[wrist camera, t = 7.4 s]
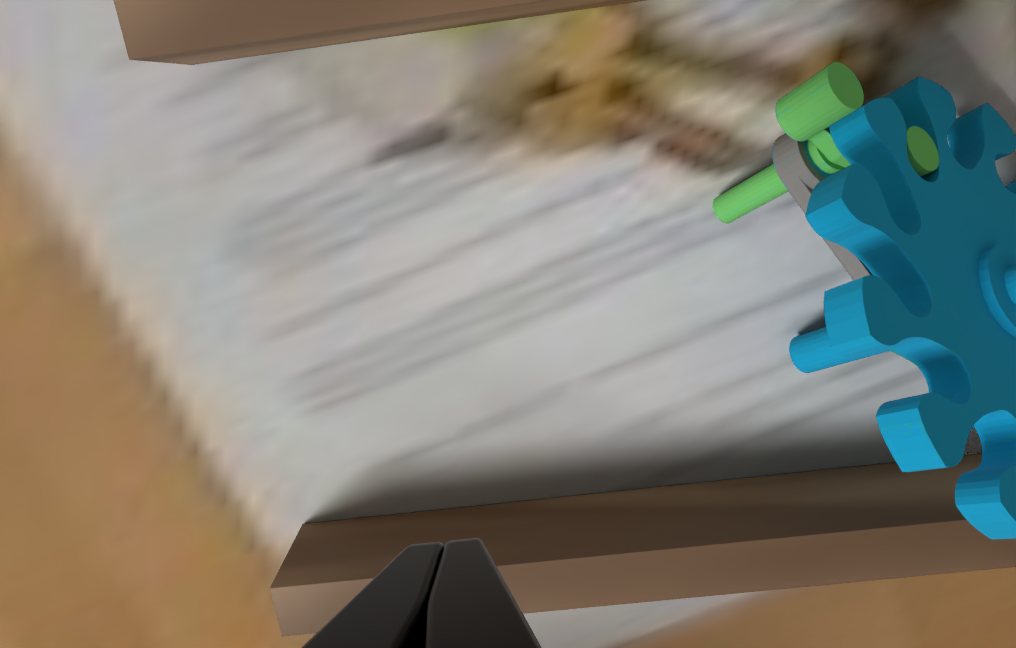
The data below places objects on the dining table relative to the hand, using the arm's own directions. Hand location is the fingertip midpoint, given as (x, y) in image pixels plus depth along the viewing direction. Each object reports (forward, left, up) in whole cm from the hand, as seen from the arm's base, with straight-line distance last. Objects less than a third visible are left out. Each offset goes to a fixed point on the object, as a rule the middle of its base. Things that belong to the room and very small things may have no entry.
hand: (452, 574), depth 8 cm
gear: (0, -10, -12) cm, 16 cm away
